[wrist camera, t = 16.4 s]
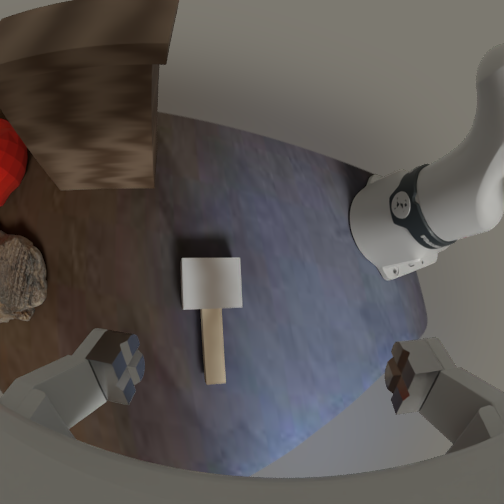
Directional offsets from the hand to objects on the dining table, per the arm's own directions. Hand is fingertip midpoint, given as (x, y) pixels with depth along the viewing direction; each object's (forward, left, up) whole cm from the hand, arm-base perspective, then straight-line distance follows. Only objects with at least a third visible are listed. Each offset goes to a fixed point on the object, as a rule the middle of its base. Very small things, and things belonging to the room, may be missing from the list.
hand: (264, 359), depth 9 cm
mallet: (-3, +1, -30) cm, 30 cm away
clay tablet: (+28, -5, -30) cm, 42 cm away
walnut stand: (+12, -20, -30) cm, 38 cm away
